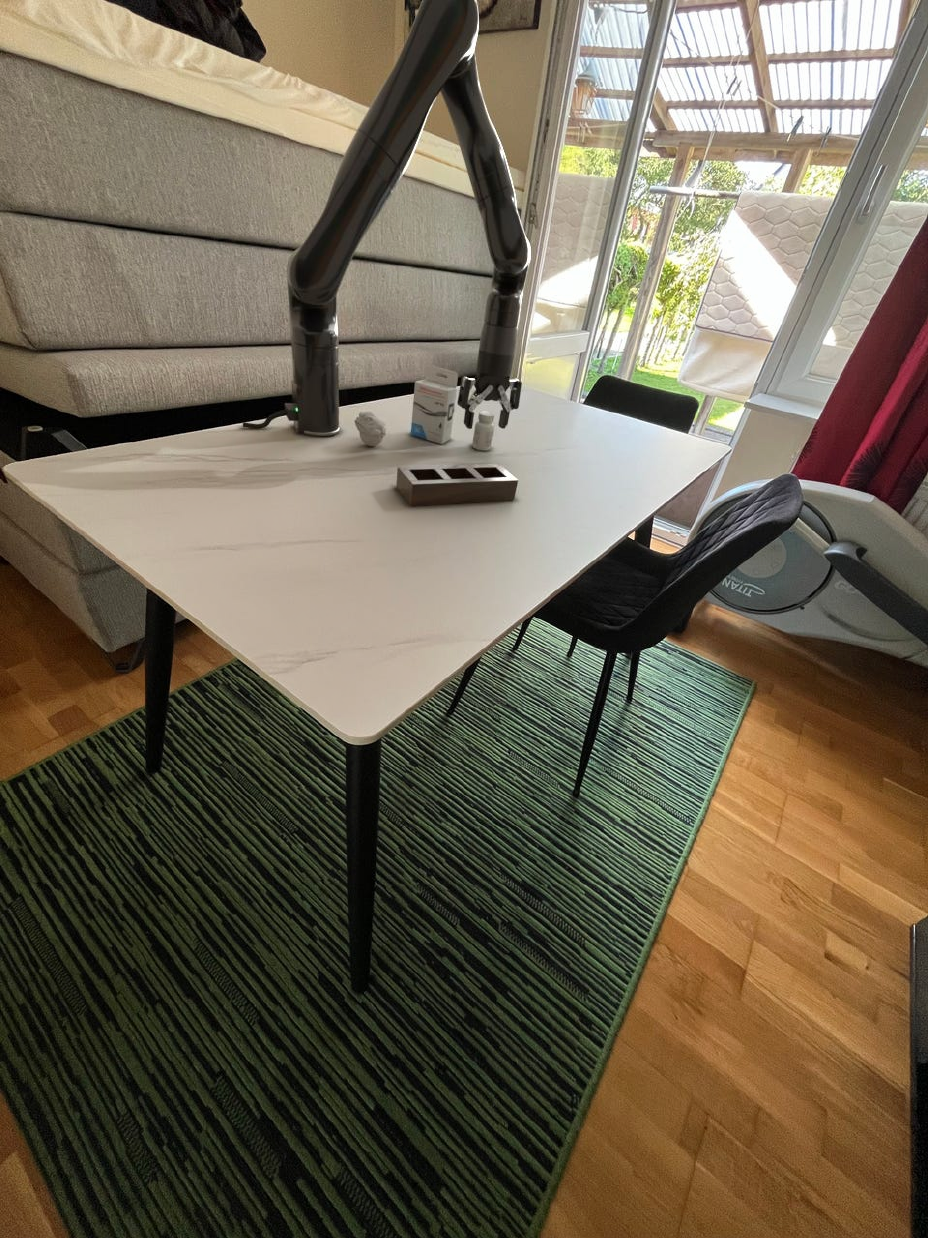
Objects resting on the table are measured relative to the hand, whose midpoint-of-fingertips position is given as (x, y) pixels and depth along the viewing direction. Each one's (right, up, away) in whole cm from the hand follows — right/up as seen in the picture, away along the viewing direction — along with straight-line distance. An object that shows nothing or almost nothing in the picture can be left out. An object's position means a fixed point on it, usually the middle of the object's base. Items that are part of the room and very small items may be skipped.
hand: (485, 427), depth 117 cm
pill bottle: (-1, -4, +3) cm, 5 cm away
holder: (-6, -20, -21) cm, 30 cm away
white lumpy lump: (-25, -6, -7) cm, 27 cm away
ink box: (-13, -1, +3) cm, 13 cm away
